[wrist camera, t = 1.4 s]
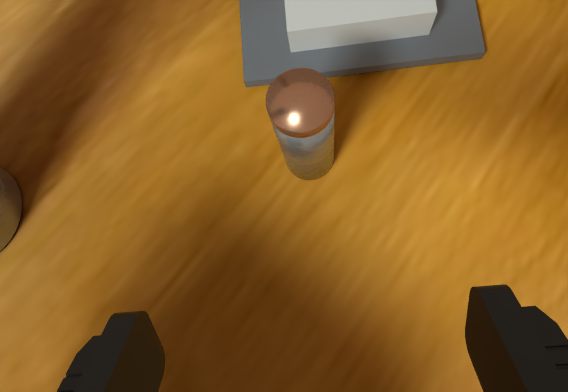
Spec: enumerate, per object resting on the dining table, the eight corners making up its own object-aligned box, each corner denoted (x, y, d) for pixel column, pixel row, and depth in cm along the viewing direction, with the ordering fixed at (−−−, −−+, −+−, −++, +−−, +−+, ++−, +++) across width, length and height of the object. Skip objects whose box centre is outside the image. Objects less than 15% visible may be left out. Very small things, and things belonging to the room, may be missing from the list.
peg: (287, 182, 35) (267, 135, 24) (284, 137, 36) (263, 72, 25) (336, 177, 34) (338, 127, 24) (331, 131, 35) (331, 63, 25)
